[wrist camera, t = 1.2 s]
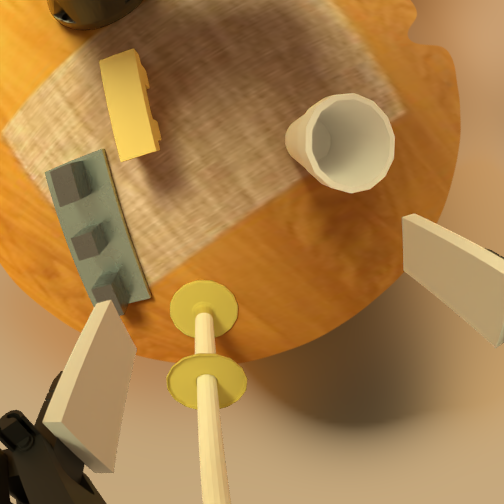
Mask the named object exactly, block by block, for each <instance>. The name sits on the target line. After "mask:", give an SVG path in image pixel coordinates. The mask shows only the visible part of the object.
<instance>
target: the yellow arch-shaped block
mask: <svg viewBox="0 0 504 504" xmlns="http://www.w3.org/2000/svg"><path fill="white" fill-rule="evenodd" d="M99 64H100V70H101V76H102V81H103V87H104V92H105V97H106V102H107V106H108V111H109V116H110V120H111V125H112V129H113V133H114V137H115V142H116V146H117V150H118V154H119V157H120V161H121V162H123V161H127V160H130V159H133V158H136V157H139V156H143V155H146V154H149V153H152V152H156V151H159V150H160V147H159V143H158V141H160V140H162V139H161V135H160V130H159V126H158V122H157V121H156V120H154V119H153V118H152V114H151V110H150V105H149V101H148V96H147V92H146V89H149V88H150V87H149V82H148V77H147V72H146V70H145V69H144V67H143V66H142V65H141V63H140V58H139V54H138V53H137V52H136V51H135V49H134V48H133V49H130V50H127V51H124V52H121V53H118V54H115V55H113V56H110V57H107V58H105V59H102V60H100V61H99Z"/></svg>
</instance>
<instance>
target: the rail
mask: <svg viewBox="0 0 504 504" xmlns="http://www.w3.org/2000/svg"><path fill="white" fill-rule="evenodd" d="M45 175H46V179H47V183H48V186H49V190H50V193H51V196H52V200H53V203H54V206H55V209H56V212H57V215H58V218H59V221H60V224H61V227H62V230H63V233H64V236H65V239H66V241H67V244H68V247H69V249H70V252H71V255H72V257H73V260H74V262H75V265H76V267H77V270H78V272H79V274H80V277H81V279H82V281H83V284H84V286H85V288H86V291H87V293H88V295H89V297H90V299H91V302H92V304H93V306H94V307H95V305H96V304H97V303H100V302H104V301H108V300H112V302H113V304H114V306H115V308H116V310H117V312H118V314H119V316H120V315H124V314H125V311H126V309H127V306H128V304H129V303H133V302H137V301H141V300H145V299H149V298H151V292H150V290H149V287H148V285H147V282H146V279H145V277H144V274H143V271H142V269H141V266H140V263H139V261H138V258H137V255H136V252H135V249H134V246H133V243H132V241H131V238H130V235H129V232H128V229H127V226H126V222H125V219H124V216H123V213H122V210H121V207H120V203H119V200H118V197H117V193H116V190H115V186H114V183H113V179H112V176H111V172H110V169H109V165H108V161H107V157H106V153H105V149H100V150H98V151H95V152H92V153H90V154H87V155H85V156H82V157H80V158H77V159H75V160H72V161H70V162H68V163H65V164H63V165H61V166H58V167H56V168H54V169H51V170H49V171H47V172H45Z"/></svg>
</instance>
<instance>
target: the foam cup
mask: <svg viewBox="0 0 504 504" xmlns="http://www.w3.org/2000/svg"><path fill="white" fill-rule="evenodd" d="M285 146H286V148H287V150H288V153H289V155H290V156H291V157H293V158H294V159H295V160H296V161H297V162H298V163H300V164H301V165H302V166H303V167H305V168H306V170H307V171H308V172H309V173H310V174H311V175H312V176H313V177H315V178H316V179H317V180H318V181H319V182H320V183H321V184H323V185H325V186H328V187H330V188H333V189H337V190H340V191H344V192H348V193H355V192H360V191H364V190H369V189H371V188H372V187H373V186H374V185H376V184H377V183H378V182H379V181H380V180H382V179H383V178H384V177H385V176H386V174H387V172H388V170H389V168H390V165H391V163H392V161H393V159H394V147H395V136H394V133H393V130H392V127H391V124H390V122H389V119H388V117H387V115H386V114H385V113H384V112H383V111H382V110H381V109H380V108H379V107H378V105H377V104H376V103H375V102H374V101H372V100H370V99H368V98H365V97H363V96H360V95H358V94H355V93H348V94H337V95H332V96H328V97H325V98H323V99H322V100H320V101H319V102H317V103H316V104H314V105H313V106H312V107H310V108H309V109H308V110H307V111H306V113H305V114H304V115H302V116H301V117H300V118H298V119H297V120H296V121H294V122H293V123H291V124H290V126H289V128H288V130H287V132H286V134H285Z"/></svg>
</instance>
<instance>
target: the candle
mask: <svg viewBox="0 0 504 504" xmlns="http://www.w3.org/2000/svg"><path fill="white" fill-rule="evenodd" d="M237 314H238V304H237V302H236V299H235V297H234V294H233V293H232V292H231V291H230V290H228V289H227V288H226V287H225V286H224V285H222V284H219V283H217V282H214V281H212V280H196V281H193V282H190V283H187V284H185V285H183V286H182V287H181V288H180V289H179V290H178V291H177V292H175V294H174V296H173V298H172V301H171V303H170V316H171V318H172V320H173V322H174V324H175V326H176V327H177V328H178V329H179V330H180V331H181V332H183V333H184V334H185V335H188V336H190V337H193V338H195V355H191V356H188V357H184V358H182V359H181V360H180V361H178V362H177V363H176V364H174V365H173V366H172V367H171V369H170V371H169V373H168V375H167V378H166V379H167V388H168V391H169V392H170V394H171V395H172V397H173V398H174V399H175V400H177V401H178V402H180V403H181V404H183V405H184V406H186V407H189V408H193V409H197V410H198V434H199V454H200V472H201V487H202V499H203V504H231V499H230V492H229V485H228V478H227V471H226V462H225V454H224V446H223V438H222V429H221V419H220V411H219V409H221V408H225V407H228V406H230V405H231V404H233V403H235V402H236V401H238V400H239V399H240V398H241V396H242V395H243V394H244V392H245V391H246V386H247V377H246V375H245V373H244V370H243V368H242V367H241V366H240V365H239V364H237V363H236V362H235V361H233V360H232V359H231V358H228V357H225V356H222V355H219V354H216V348H215V337H218V336H221V335H223V334H224V333H225V332H227V331H228V330H229V329H231V328H232V326H233V324H234V322H235V321H236V319H237Z"/></svg>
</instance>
